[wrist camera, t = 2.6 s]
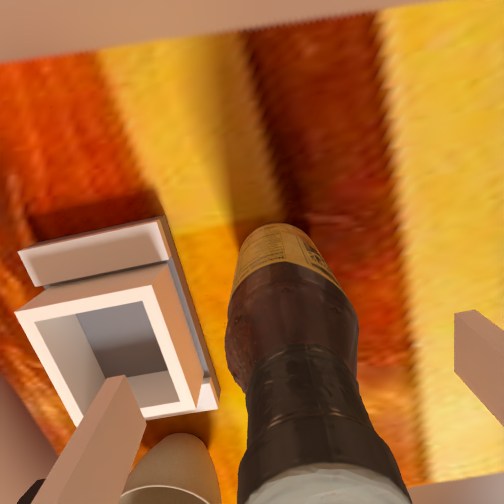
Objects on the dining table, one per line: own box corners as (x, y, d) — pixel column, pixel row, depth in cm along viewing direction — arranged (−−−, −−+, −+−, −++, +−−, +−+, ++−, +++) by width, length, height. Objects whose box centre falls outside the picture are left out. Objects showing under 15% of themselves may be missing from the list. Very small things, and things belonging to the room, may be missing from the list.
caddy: (165, 214, 25) (141, 234, 19) (220, 389, 31) (213, 440, 25) (37, 242, 26) (-18, 267, 20) (115, 407, 31) (88, 460, 26)
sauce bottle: (317, 282, 27) (467, 618, 8) (245, 293, 27) (224, 637, 8) (308, 207, 24) (488, 425, 6) (231, 220, 25) (158, 464, 6)
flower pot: (235, 420, 32) (229, 494, 25) (222, 485, 35) (214, 567, 28) (137, 407, 31) (105, 480, 25) (134, 475, 35) (105, 555, 28)
